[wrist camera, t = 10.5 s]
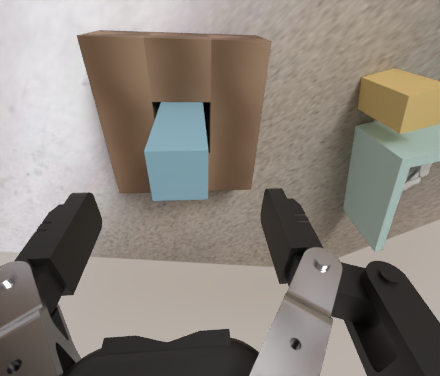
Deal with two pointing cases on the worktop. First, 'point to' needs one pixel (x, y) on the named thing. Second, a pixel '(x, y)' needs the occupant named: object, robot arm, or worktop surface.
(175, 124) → the long peg
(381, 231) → the l-shaped corner panel
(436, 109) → the short peg
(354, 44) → the worktop surface
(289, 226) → the robot arm
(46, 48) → the worktop surface
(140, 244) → the worktop surface
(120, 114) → the hole block
